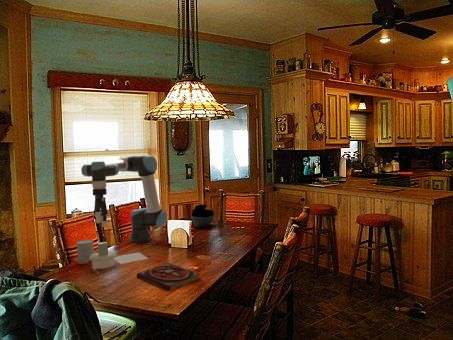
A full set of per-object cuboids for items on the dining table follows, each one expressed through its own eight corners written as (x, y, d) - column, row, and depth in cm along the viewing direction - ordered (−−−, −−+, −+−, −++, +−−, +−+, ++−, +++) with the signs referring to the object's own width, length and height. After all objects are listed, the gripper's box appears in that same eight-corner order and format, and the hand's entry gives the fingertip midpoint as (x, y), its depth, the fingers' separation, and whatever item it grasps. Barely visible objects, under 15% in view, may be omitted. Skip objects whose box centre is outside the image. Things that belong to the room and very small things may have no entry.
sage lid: (112, 251, 224) (111, 238, 224) (120, 257, 212) (119, 243, 211) (86, 256, 216) (85, 242, 215) (93, 262, 203) (92, 248, 203)
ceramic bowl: (111, 262, 222) (110, 252, 222) (117, 267, 212) (116, 257, 212) (90, 266, 216) (90, 256, 216) (95, 271, 206) (95, 261, 205)
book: (136, 279, 195) (136, 270, 194) (169, 268, 209) (169, 259, 209) (167, 293, 174) (167, 283, 174) (202, 279, 189) (201, 270, 189)
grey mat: (139, 253, 238) (139, 252, 238) (148, 260, 224) (148, 258, 224) (112, 258, 229) (112, 257, 229) (120, 265, 215) (120, 264, 215)
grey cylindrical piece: (97, 259, 229) (96, 239, 229) (88, 264, 220) (86, 243, 219) (84, 258, 232) (83, 239, 231) (74, 263, 223) (73, 243, 222)
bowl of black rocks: (205, 223, 327) (205, 202, 326) (219, 226, 312) (219, 204, 311) (186, 227, 315) (186, 205, 313) (200, 230, 299) (199, 207, 298)
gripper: (87, 187, 220) (89, 222, 221) (98, 190, 199) (100, 229, 200) (100, 186, 224) (102, 220, 225) (112, 189, 203) (114, 227, 204)
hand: (101, 224), depth 213 cm, fingers open, 13 cm apart
